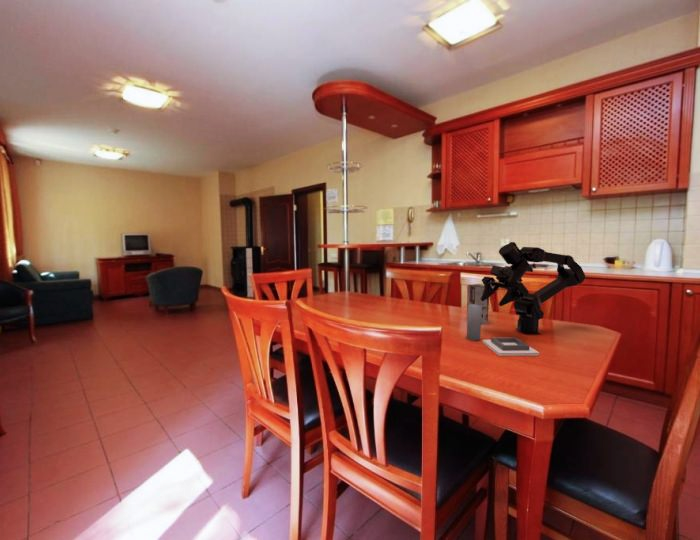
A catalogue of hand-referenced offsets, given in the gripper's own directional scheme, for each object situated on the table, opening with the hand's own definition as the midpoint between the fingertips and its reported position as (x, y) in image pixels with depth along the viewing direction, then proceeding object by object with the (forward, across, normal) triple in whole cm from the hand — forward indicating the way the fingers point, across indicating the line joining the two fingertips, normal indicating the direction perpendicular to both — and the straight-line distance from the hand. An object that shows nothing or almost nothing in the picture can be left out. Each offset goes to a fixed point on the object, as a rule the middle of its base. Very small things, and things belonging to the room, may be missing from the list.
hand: (490, 302), depth 124 cm
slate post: (+14, 0, +4) cm, 15 cm away
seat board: (+11, +13, +7) cm, 19 cm away
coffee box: (+2, -20, +17) cm, 26 cm away
